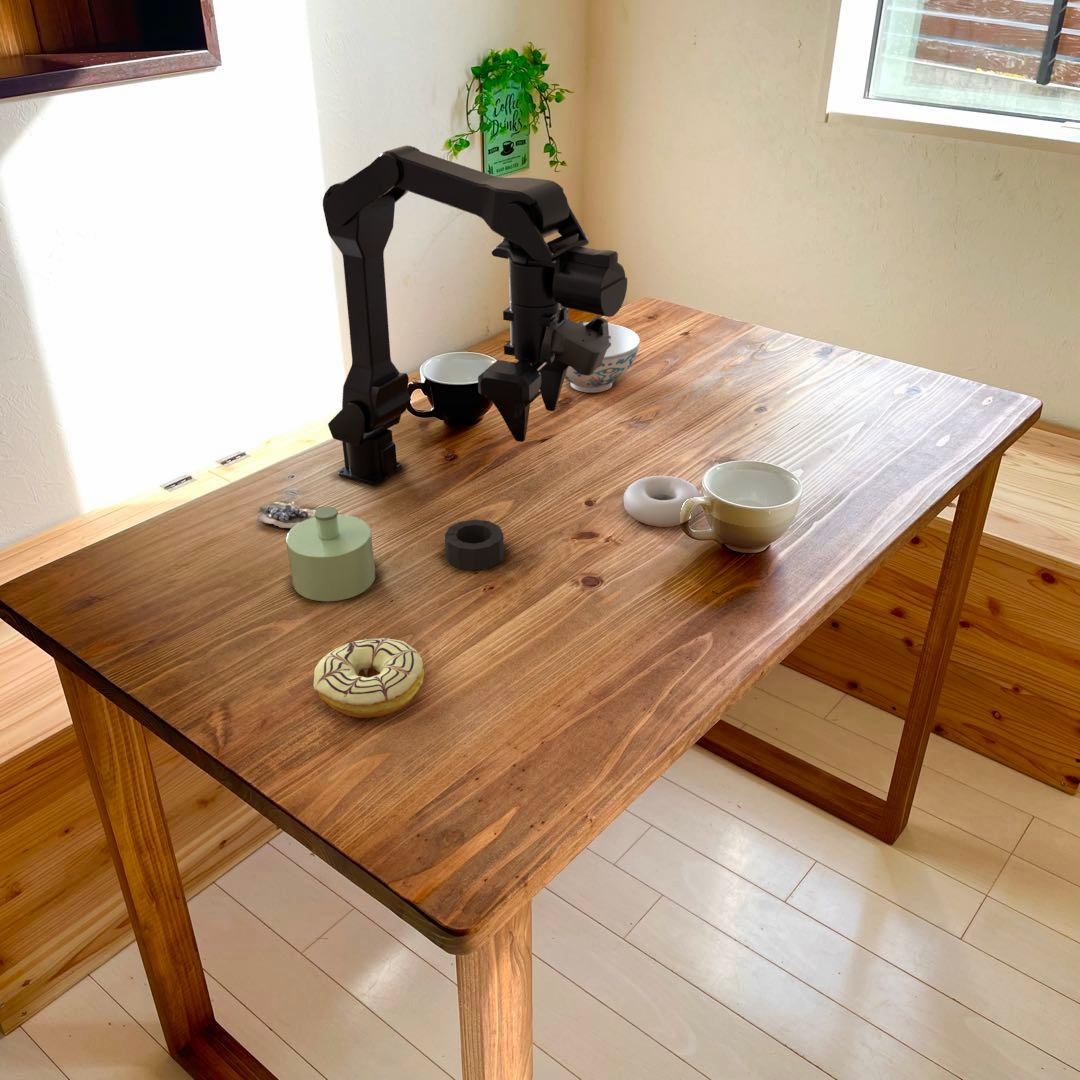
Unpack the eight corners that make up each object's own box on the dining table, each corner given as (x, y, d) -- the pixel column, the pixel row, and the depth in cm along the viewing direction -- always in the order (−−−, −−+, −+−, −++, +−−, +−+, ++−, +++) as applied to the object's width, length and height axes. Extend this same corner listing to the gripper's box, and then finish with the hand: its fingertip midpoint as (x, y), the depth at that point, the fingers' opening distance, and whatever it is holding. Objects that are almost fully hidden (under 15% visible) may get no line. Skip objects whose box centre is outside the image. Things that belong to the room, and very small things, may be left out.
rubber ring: (439, 566, 131) (438, 545, 130) (456, 537, 137) (454, 516, 135) (494, 573, 130) (493, 551, 128) (509, 543, 136) (508, 522, 134)
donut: (617, 528, 139) (697, 535, 137) (618, 504, 137) (699, 510, 135) (628, 491, 147) (703, 496, 145) (628, 468, 145) (705, 473, 143)
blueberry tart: (263, 504, 145) (261, 491, 144) (324, 503, 145) (322, 490, 144) (252, 530, 139) (250, 517, 138) (316, 529, 139) (314, 516, 138)
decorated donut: (347, 651, 117) (343, 622, 115) (440, 670, 114) (438, 641, 112) (298, 711, 109) (293, 681, 107) (397, 734, 106) (394, 703, 104)
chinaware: (641, 403, 171) (643, 356, 167) (544, 403, 171) (543, 357, 167) (635, 366, 184) (637, 321, 180) (545, 366, 184) (544, 322, 180)
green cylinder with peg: (275, 588, 128) (264, 521, 123) (326, 549, 135) (318, 484, 130) (342, 610, 124) (334, 541, 119) (391, 569, 131) (385, 502, 126)
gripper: (570, 337, 114) (569, 471, 122) (630, 283, 128) (625, 406, 137) (473, 322, 118) (478, 453, 126) (542, 271, 132) (542, 392, 140)
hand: (535, 425), depth 132 cm, fingers open, 9 cm apart
